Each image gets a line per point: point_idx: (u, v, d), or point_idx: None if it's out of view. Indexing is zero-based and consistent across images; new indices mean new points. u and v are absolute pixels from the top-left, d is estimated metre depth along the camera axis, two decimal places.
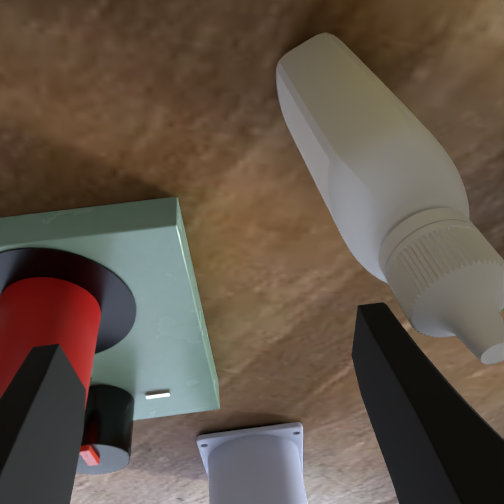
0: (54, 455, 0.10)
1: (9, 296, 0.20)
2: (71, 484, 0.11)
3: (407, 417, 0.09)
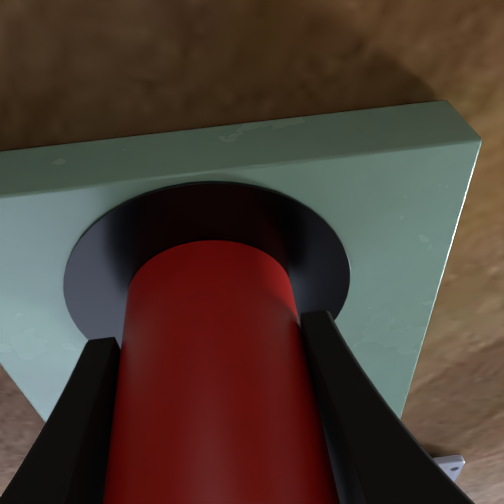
0: None
1: (164, 274, 0.11)
2: None
3: (336, 426, 0.09)
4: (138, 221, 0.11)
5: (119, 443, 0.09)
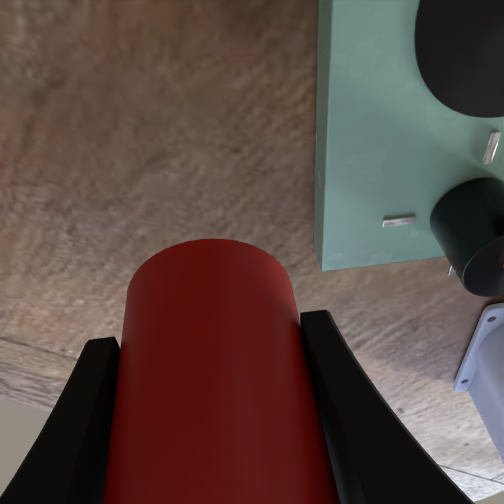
0: None
1: (164, 273, 0.11)
2: None
3: (336, 427, 0.09)
4: None
5: (119, 442, 0.09)
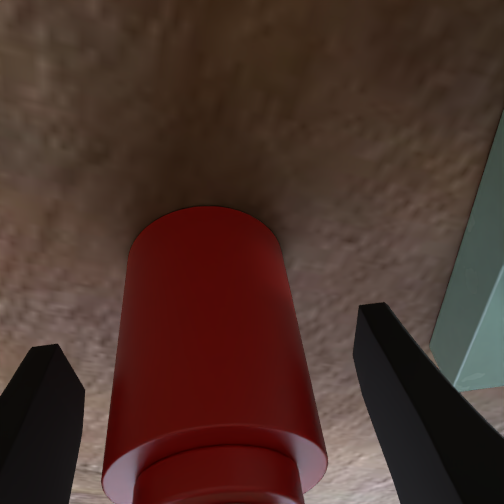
0: (53, 455, 0.10)
1: (162, 236, 0.12)
2: (70, 485, 0.11)
3: (408, 417, 0.09)
4: None
5: (121, 382, 0.09)
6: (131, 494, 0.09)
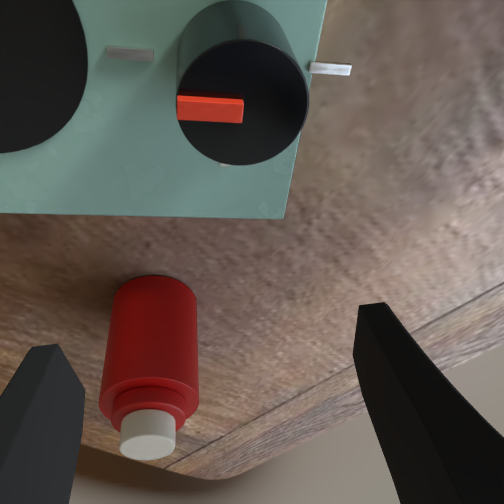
0: (53, 455, 0.10)
1: None
2: (70, 484, 0.11)
3: (408, 417, 0.09)
4: None
5: None
6: None
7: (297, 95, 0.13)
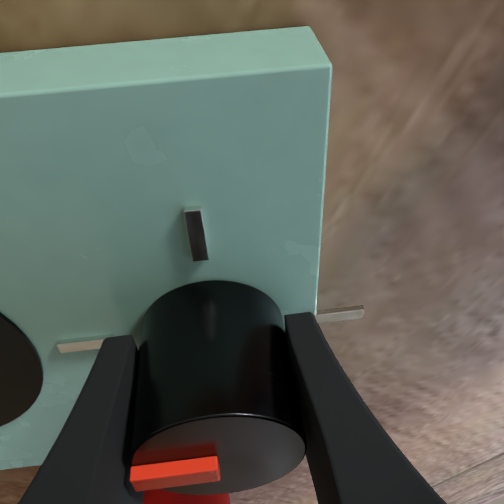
0: None
1: None
2: None
3: (316, 429, 0.09)
4: None
5: None
6: None
7: (288, 442, 0.09)
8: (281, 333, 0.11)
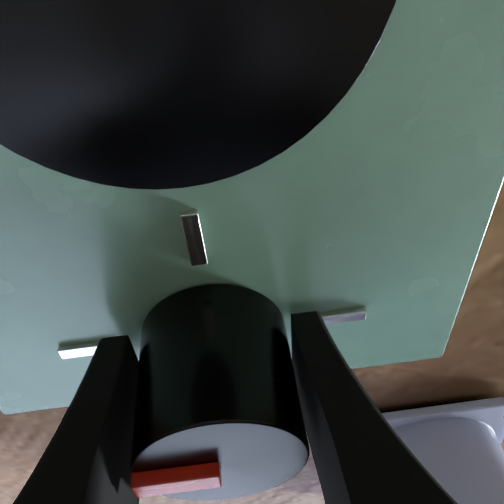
0: (128, 445, 0.10)
1: None
2: None
3: (324, 428, 0.09)
4: None
5: None
6: None
7: (290, 448, 0.09)
8: (283, 337, 0.11)
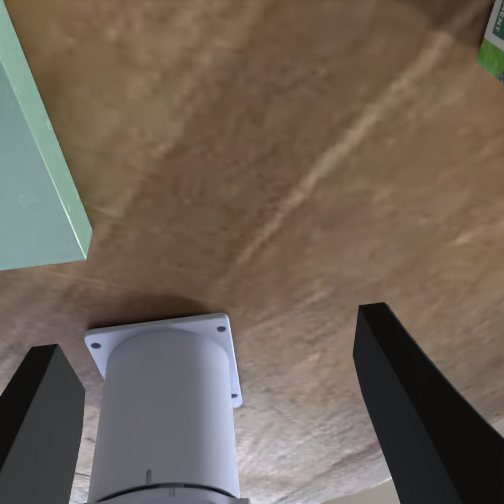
0: (53, 455, 0.10)
1: None
2: (70, 485, 0.11)
3: (408, 417, 0.09)
4: None
5: None
6: None
7: None
8: None
